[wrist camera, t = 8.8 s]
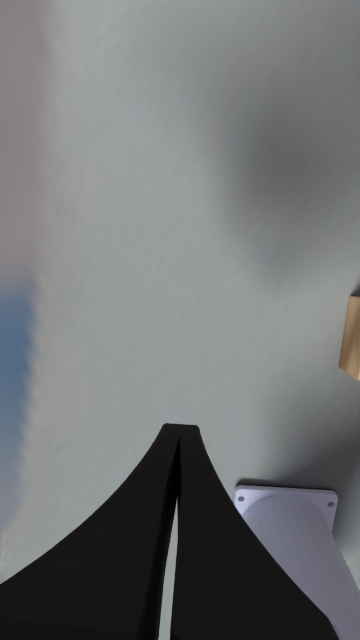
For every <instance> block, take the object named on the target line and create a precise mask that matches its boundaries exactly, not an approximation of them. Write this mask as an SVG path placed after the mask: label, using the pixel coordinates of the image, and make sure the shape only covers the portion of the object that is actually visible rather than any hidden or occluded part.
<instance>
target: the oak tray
mask: <svg viewBox="0 0 360 640" xmlns="http://www.w3.org/2000/svg"><path fill="white" fill-rule="evenodd" d="M339 367H340V368H342V369H343V370H344V371H345V372H347V373H348V374H349V375H351V376H352V377H353V378H354V379H356V380H357V381H360V296H350V301H349V307H348V313H347V319H346V325H345V331H344V338H343V344H342V350H341V356H340V362H339Z"/></svg>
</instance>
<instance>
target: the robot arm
mask: <svg viewBox="0 0 360 640" xmlns="http://www.w3.org/2000/svg"><path fill="white" fill-rule="evenodd" d="M240 496H242V497H240ZM176 501H177V504H178V544H177V557H176V569H175V581H174V593H173V605H172V617H171V629H170V640H360V591H359V589H358V587H357V585H356V583H355V580H354V578H353V576H352V574H351V572H350V570H349V568H348V566H347V564H346V562H345V560H344V558H343V556H342V553H341V551H340V549H339V547H338V545H337V543H336V541H335V539H334V537H333V535H332V529H333V524H334V518H335V513H336V508H337V503H338V497H337V495H336V493H335V492H334V491H329V490H313V489H296V488H280V487H263V486H247V485H239V486H237V487H236V488H235V493H234V503H233V502H232V500H231V499H230V497H229V495H228V494H227V492H226V490H225V488H224V487H223V485H222V483H221V481H220V479H219V477H218V475H217V473H216V471H215V469H214V467H213V465H212V463H211V461H210V459H209V456H208V454H207V452H206V449H205V446H204V444H203V441H202V438H201V434H200V429H199V427H198V426H197V425H184V424H169V423H165V424H164V425H163V426H162V428H161V430H160V432H159V434H158V436H157V437H156V439H155V441H154V442H153V444H152V445H151V447H150V448H149V450H148V451H147V453H146V454H145V456H144V457H143V458H142V460H141V461H140V462H139V464H138V465H137V466H136V468H135V469H134V470H133V471H132V473H131V474H130V475H129V476H128V478H127V479H126V480H125V481H124V482H123V483H122V485H121V486H120V487H119V488H118V489H117V490H116V491H115V492H114V493H113V494H112V495H111V496H110V497H109V498H108V499H107V501H106V502H104V503H103V504H102V505H101V506H100V507H99V508H98V509H97V510H96V511H95V512H94V513H93V514H92V515H91V516H90V517H89V518H88V519H86V520H85V521H84V522H83V523H82V524H81V525H80V526H79V527H77V528H76V529H75V530H74V531H72V532H71V533H70V534H69V535H67V536H66V537H65V538H64V539H63V540H61V541H60V542H59V543H58V544H56V545H55V546H54V547H53V548H51V549H50V550H49V551H47V552H46V553H45V554H43V555H42V556H41V557H39V558H38V559H36V560H35V561H34V562H32V563H31V564H29V565H28V566H26V567H25V568H24V569H22V570H21V571H19V572H18V573H16V574H15V575H14V576H12V577H11V578H9V579H8V580H6V581H5V582H3V583H2V584H0V640H158V637H159V626H160V615H161V605H162V594H163V583H164V575H165V568H166V561H167V555H168V549H169V543H170V537H171V531H172V525H173V520H174V513H175V507H176ZM329 502H330V503H329Z"/></svg>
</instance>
